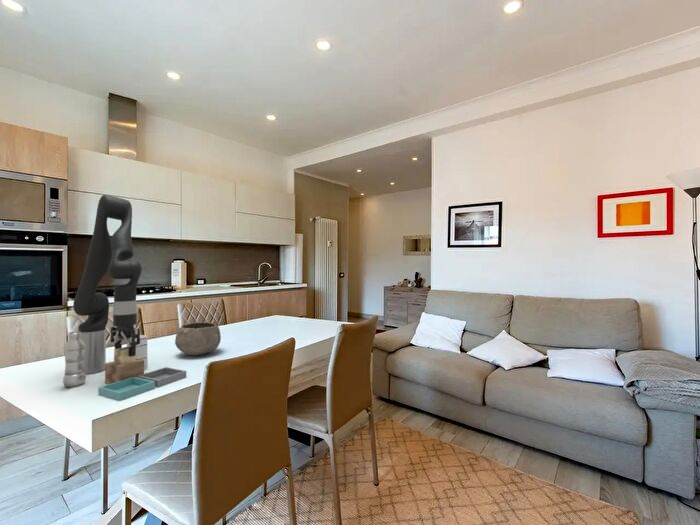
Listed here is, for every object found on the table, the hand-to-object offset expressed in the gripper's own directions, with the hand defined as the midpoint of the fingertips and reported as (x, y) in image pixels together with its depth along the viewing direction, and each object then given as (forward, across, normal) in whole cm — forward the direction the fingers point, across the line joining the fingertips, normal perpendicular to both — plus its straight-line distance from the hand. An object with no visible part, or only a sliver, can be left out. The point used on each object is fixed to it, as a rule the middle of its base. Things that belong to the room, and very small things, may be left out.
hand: (124, 354), depth 126 cm
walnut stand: (+11, 0, 0) cm, 11 cm away
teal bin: (+11, -12, +6) cm, 17 cm away
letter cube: (+3, 0, 0) cm, 3 cm away
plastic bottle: (+11, +14, +10) cm, 20 cm away
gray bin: (+11, -12, -7) cm, 17 cm away
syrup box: (+11, +12, -12) cm, 20 cm away
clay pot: (+11, +8, -41) cm, 43 cm away
